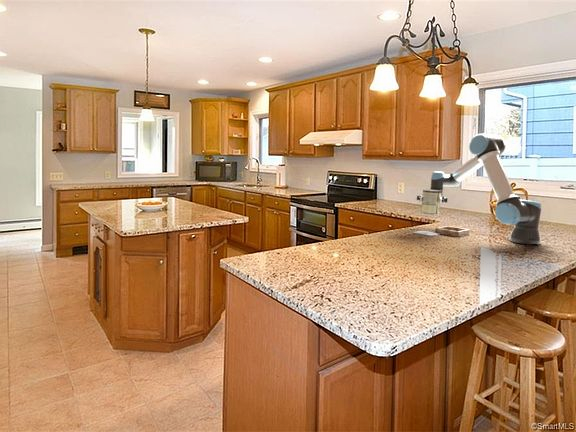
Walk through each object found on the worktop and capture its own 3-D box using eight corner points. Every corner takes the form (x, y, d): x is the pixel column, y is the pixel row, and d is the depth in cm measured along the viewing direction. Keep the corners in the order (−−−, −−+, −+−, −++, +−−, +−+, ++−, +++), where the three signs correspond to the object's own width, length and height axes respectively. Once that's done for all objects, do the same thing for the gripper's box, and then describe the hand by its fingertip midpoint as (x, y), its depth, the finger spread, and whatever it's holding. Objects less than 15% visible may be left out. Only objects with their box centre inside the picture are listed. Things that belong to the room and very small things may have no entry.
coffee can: (419, 212, 251) (421, 188, 249) (436, 213, 250) (439, 189, 248) (422, 214, 241) (424, 190, 239) (441, 215, 240) (443, 191, 238)
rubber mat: (441, 234, 246) (441, 233, 246) (431, 236, 238) (431, 235, 237) (422, 231, 254) (422, 230, 254) (412, 232, 246) (412, 232, 246)
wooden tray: (469, 234, 249) (469, 229, 248) (458, 236, 239) (459, 231, 239) (446, 230, 259) (446, 225, 259) (435, 232, 249) (435, 228, 249)
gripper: (453, 204, 256) (450, 208, 236) (415, 201, 266) (409, 204, 245) (454, 192, 255) (452, 195, 235) (416, 189, 264) (410, 192, 244)
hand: (430, 200), depth 240 cm, fingers closed on coffee can, 10 cm apart
